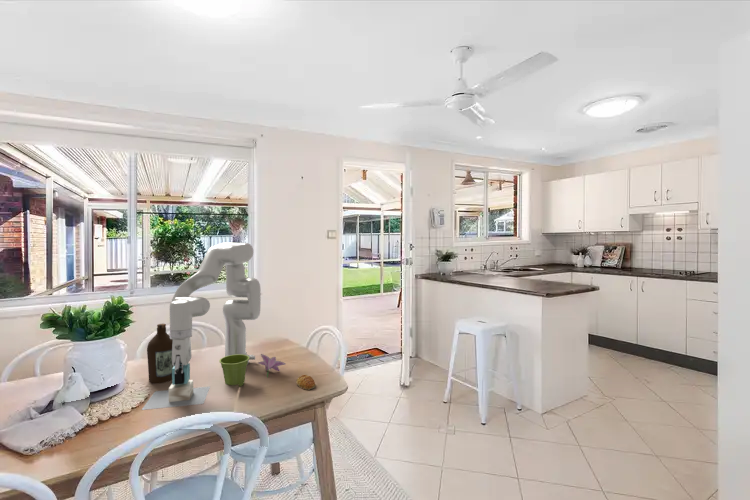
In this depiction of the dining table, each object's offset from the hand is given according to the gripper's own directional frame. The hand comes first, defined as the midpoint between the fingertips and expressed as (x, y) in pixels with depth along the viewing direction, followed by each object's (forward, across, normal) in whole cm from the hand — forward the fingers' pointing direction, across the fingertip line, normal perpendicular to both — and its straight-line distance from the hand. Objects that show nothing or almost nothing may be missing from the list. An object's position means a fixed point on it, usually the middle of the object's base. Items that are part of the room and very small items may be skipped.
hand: (181, 380), depth 140 cm
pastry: (+8, +4, -47) cm, 48 cm away
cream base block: (+6, 0, 0) cm, 6 cm away
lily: (+8, +20, -33) cm, 39 cm away
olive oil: (+8, +21, +12) cm, 26 cm away
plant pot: (+8, +11, -18) cm, 23 cm away
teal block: (+1, 0, 0) cm, 1 cm away
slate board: (+8, 0, +1) cm, 8 cm away
